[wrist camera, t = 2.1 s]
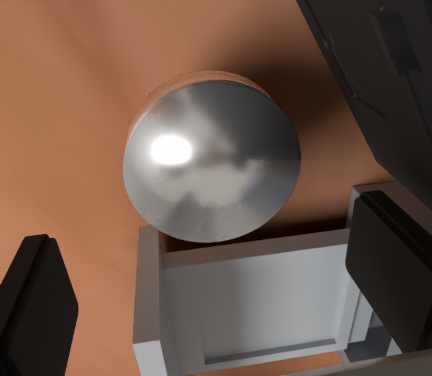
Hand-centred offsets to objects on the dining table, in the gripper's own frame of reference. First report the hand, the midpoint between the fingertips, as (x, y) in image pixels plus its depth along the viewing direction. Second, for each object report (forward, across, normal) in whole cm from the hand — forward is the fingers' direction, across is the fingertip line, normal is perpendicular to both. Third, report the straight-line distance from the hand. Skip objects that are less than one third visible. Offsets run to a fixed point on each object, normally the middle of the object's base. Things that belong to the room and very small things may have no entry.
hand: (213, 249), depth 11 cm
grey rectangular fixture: (+7, -4, +10) cm, 13 cm away
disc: (+4, 0, -1) cm, 5 cm away
